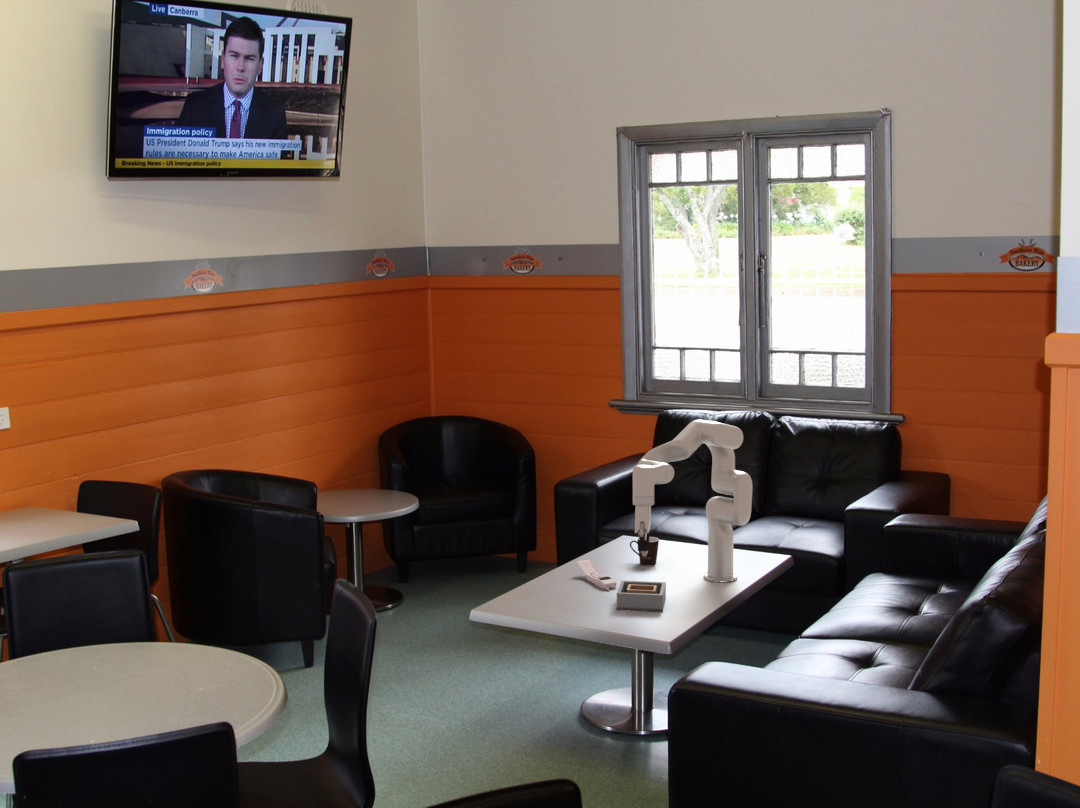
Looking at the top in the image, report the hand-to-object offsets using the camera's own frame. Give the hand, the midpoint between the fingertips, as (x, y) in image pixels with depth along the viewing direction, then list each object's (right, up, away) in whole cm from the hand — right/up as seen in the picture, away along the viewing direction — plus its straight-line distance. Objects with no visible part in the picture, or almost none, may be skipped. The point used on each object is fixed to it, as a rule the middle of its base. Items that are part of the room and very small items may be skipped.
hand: (643, 547), depth 404 cm
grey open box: (-1, -20, +2) cm, 20 cm away
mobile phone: (-15, -17, +30) cm, 38 cm away
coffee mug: (+6, -14, +56) cm, 58 cm away
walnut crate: (-1, -19, +2) cm, 19 cm away
